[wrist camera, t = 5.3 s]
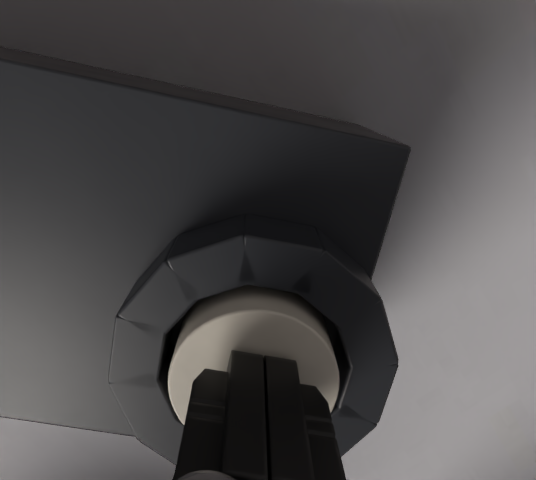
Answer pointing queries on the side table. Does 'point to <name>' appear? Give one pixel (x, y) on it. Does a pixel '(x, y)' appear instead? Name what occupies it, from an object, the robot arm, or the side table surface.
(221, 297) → the beige push button
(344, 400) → the dark gray box
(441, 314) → the side table surface
